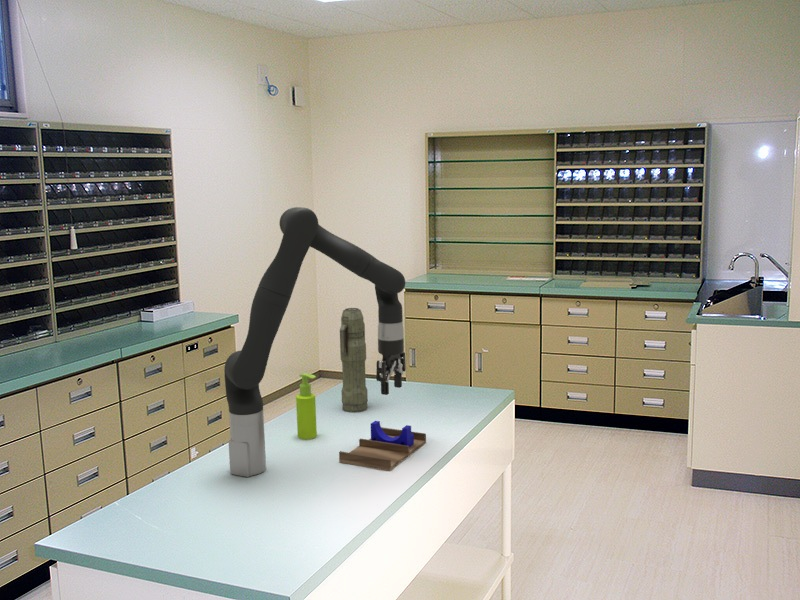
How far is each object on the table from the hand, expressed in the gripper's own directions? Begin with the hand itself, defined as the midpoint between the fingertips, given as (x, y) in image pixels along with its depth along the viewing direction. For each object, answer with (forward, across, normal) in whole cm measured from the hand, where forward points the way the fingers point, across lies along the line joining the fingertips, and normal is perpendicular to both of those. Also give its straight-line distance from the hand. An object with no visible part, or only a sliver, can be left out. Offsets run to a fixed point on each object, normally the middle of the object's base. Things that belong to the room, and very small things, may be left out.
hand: (391, 390), depth 230 cm
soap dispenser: (+17, -3, +28) cm, 33 cm away
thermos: (+17, +28, +29) cm, 44 cm away
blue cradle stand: (+16, 0, 0) cm, 16 cm away
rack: (+17, -6, 0) cm, 18 cm away
